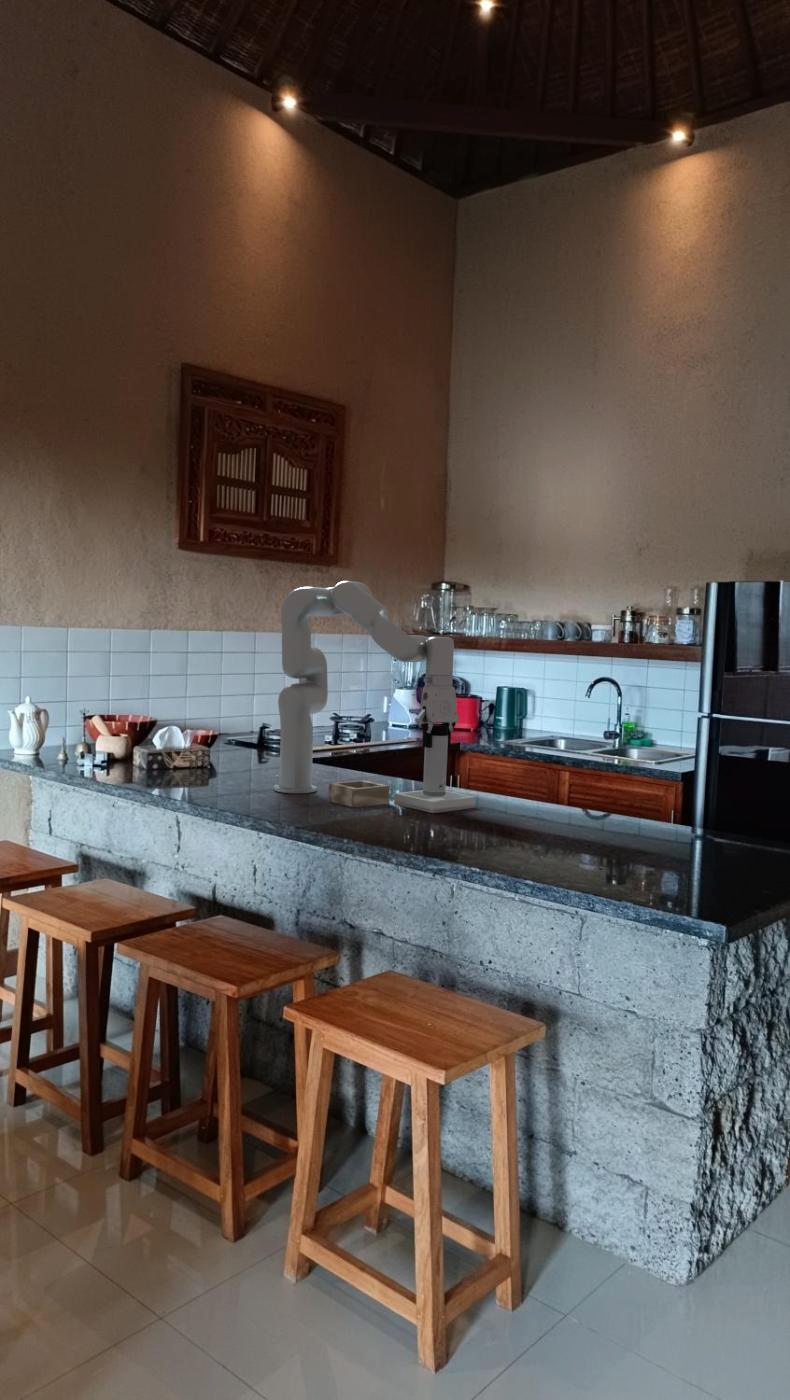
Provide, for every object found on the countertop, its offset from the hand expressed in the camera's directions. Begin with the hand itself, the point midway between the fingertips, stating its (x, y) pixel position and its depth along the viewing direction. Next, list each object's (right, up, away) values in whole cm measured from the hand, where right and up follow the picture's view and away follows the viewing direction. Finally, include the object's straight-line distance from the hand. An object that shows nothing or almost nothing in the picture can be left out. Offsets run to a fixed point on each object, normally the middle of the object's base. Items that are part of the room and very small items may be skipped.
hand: (436, 745), depth 281 cm
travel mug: (0, -14, +1) cm, 14 cm away
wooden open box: (-22, -16, +3) cm, 27 cm away
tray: (-1, -17, +1) cm, 17 cm away
